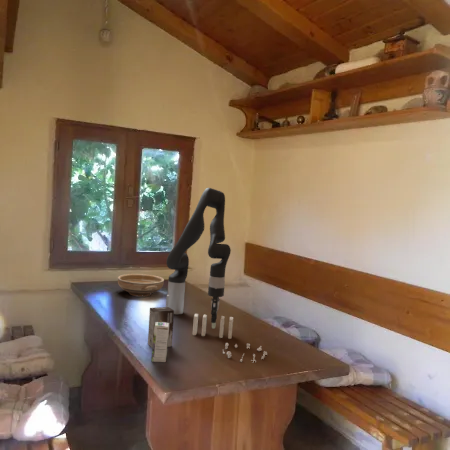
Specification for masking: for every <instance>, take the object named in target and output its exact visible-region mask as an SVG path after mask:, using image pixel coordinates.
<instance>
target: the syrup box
mask: <svg viewBox="0 0 450 450" xmlns="http://www.w3.org/2000/svg"><path fill="white" fill-rule="evenodd" d="M168 333H169V323H165V322H156V323H155V327H154V337H153V347H151V348H152V350H151V362H152V363H154V362H155V363H166V361H167V353H168V347H167V345H168Z"/></svg>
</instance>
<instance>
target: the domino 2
mask: <svg viewBox="0 0 450 450" xmlns="http://www.w3.org/2000/svg"><path fill="white" fill-rule="evenodd" d="M207 321H208V315H207V314H206V313H205V314H203V316H202V323H201V325H202V326H201V337H205V336H206V334H207V333H206V332H207Z"/></svg>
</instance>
